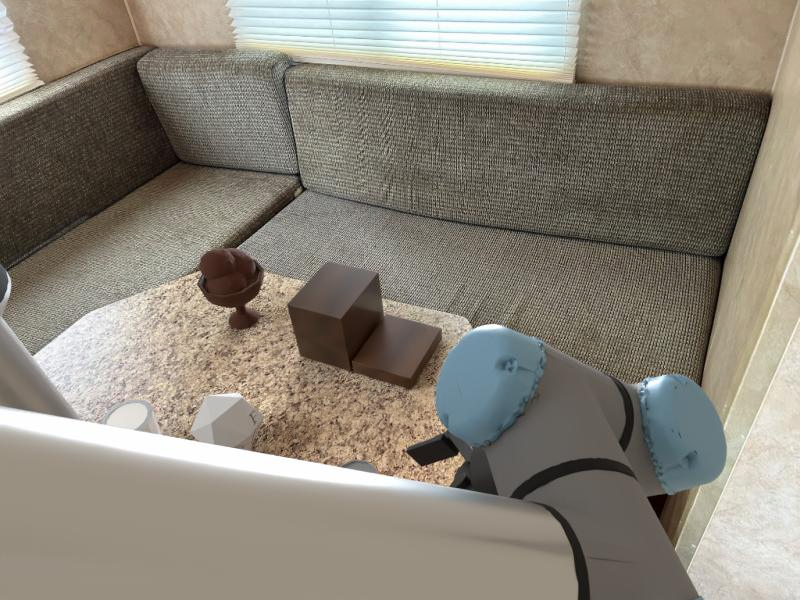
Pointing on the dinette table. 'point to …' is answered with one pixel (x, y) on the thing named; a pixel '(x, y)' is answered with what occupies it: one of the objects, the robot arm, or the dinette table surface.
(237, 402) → the die
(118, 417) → the shot glass
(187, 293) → the dinette table surface
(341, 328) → the wooden l-shaped step
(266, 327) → the dinette table surface
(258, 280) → the ice cream bowl
